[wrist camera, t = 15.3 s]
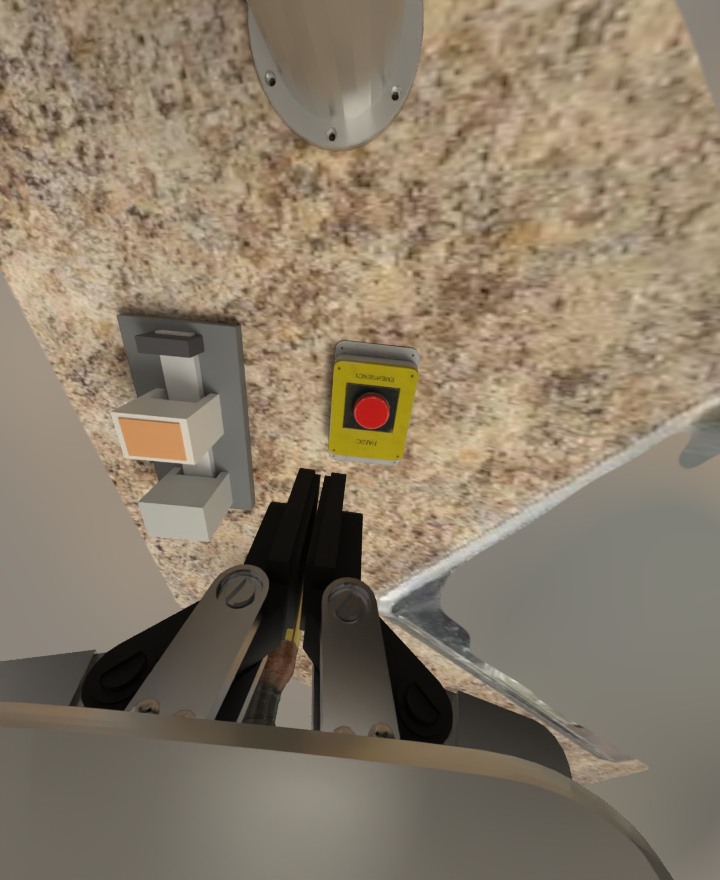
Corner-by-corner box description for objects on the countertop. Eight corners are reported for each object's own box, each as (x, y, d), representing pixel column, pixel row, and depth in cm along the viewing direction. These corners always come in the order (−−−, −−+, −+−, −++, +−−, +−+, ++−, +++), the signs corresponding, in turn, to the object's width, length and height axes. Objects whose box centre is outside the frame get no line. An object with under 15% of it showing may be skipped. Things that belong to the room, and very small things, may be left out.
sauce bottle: (264, 576, 51) (208, 733, 34) (294, 563, 50) (252, 720, 32) (289, 599, 54) (249, 755, 36) (318, 587, 52) (291, 745, 34)
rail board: (126, 313, 33) (54, 324, 25) (240, 324, 33) (202, 339, 25) (170, 495, 44) (128, 540, 36) (255, 503, 44) (231, 549, 37)
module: (156, 387, 35) (108, 412, 29) (219, 394, 35) (185, 420, 29) (165, 427, 37) (122, 459, 31) (224, 433, 37) (193, 465, 31)
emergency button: (427, 357, 30) (401, 483, 37) (420, 348, 34) (398, 464, 41) (331, 346, 30) (323, 475, 37) (336, 338, 34) (328, 456, 41)
